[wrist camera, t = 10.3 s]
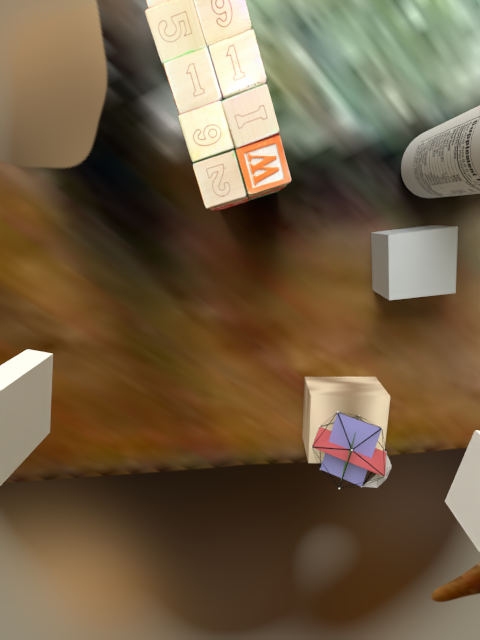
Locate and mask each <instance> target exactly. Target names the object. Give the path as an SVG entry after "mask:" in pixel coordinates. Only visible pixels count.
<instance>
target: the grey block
mask: <svg viewBox="0 0 480 640" xmlns="http://www.w3.org/2000/svg"><path fill="white" fill-rule="evenodd" d="M457 242H458V226H440V225H428V226H420V227H412V228H404V229H396V230H388V231H380V232H372V233H371V246H372V286H373V291H375V292H376V293H378V294H380V295H381V296H383V297H384V298H386V299H388V300H398V299H407V298H416V297H425V296H434V295H443V294H452V293H456V268H457Z"/></svg>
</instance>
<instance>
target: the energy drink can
mask: <svg viewBox="0 0 480 640" xmlns="http://www.w3.org/2000/svg"><path fill="white" fill-rule="evenodd" d="M401 175H402V179H403V182H404V184H405V185H406V187H407V188H408V189H409V190H410V191H411V192H412V193H413V194H415V195H417V196H419V197H423V198H439V197H449V196H459V195H469V194H479V193H480V106H478V107H476V108H474V109H472V110H469V111H467V112H465V113H463V114H461V115H459V116H457V117H455V118H453V119H451V120H449V121H447V122H445V123H443V124H441V125H439V126H437V127H434V128H432V129H430V130H428V131H426V132H424V133H422V134H421V135H419V136H418V137H416V138H415V139H414V140H413V141H412V142H411V143H410V145H409V146H408V147H407V149H406V151H405V153H404V155H403V158H402V162H401Z"/></svg>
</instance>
